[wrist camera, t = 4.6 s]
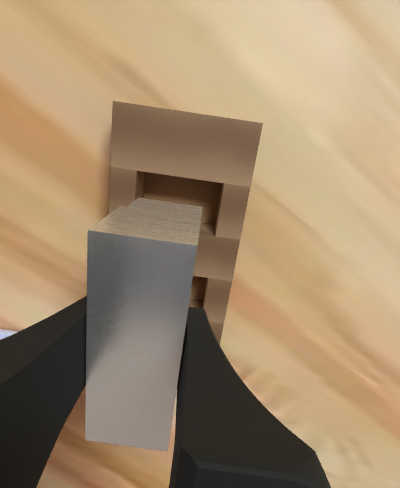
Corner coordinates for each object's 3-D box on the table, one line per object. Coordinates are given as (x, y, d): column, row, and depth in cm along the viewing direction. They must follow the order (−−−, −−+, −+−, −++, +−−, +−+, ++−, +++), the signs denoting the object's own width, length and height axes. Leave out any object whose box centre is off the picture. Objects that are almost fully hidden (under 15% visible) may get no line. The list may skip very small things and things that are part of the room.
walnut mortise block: (215, 341, 24) (215, 364, 21) (114, 327, 24) (103, 348, 21) (256, 125, 18) (262, 123, 16) (125, 105, 18) (112, 100, 16)
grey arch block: (182, 344, 17) (167, 451, 11) (128, 336, 16) (85, 440, 11) (203, 201, 14) (197, 245, 8) (138, 192, 14) (87, 230, 8)
